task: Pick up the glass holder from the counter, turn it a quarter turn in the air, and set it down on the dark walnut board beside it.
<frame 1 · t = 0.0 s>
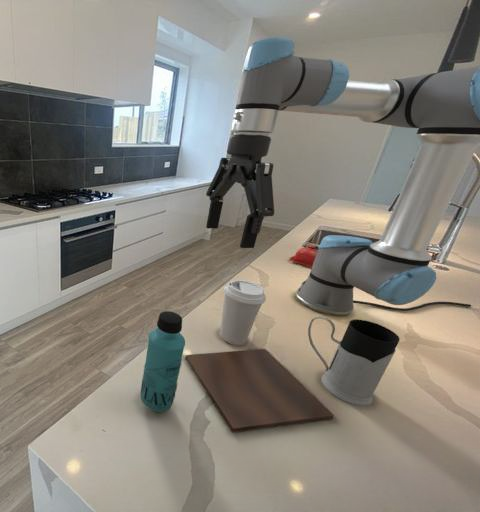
hand: (227, 237, 67), 28 cm above the counter, tool pointing down, fingers open, 13 cm apart
walnut board: (250, 385, 63), on the counter
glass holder: (330, 381, 66), on the counter
beverage bottle: (155, 404, 58), on the counter
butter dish: (305, 263, 131), on the counter
coffee cup: (232, 337, 79), on the counter
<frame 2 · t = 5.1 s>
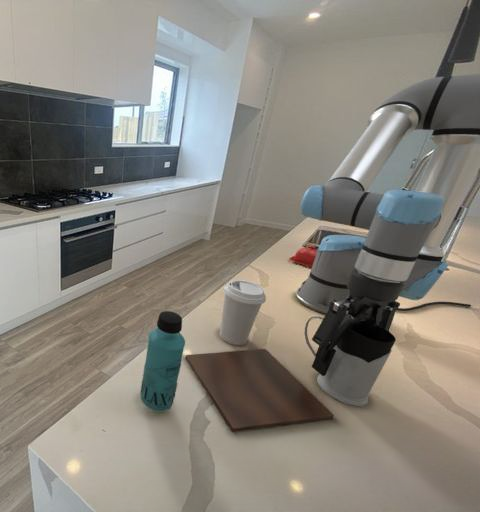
hand: (336, 369, 64), 3 cm above the counter, tool pointing down, fingers closed on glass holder, 8 cm apart
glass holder: (326, 381, 65), on the counter, touching gripper
everything else where it was.
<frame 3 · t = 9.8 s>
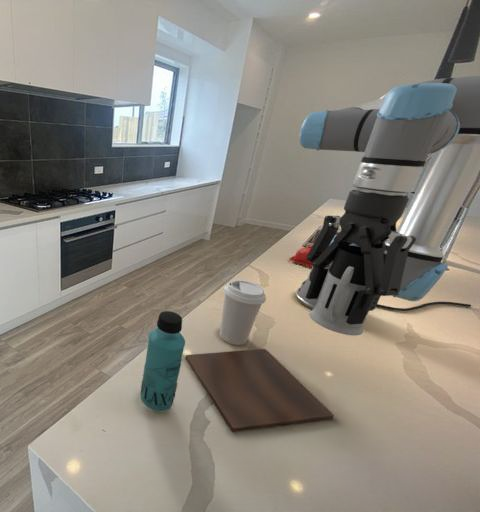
hand: (331, 309, 58), 19 cm above the counter, tool pointing down, fingers closed on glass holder, 8 cm apart
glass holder: (330, 327, 58), point 15 cm above the counter, touching gripper
everything else where it was.
when the fingers open (4 cm above the counter, at t = 14.5 s): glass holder stays where it is, resting on walnut board.
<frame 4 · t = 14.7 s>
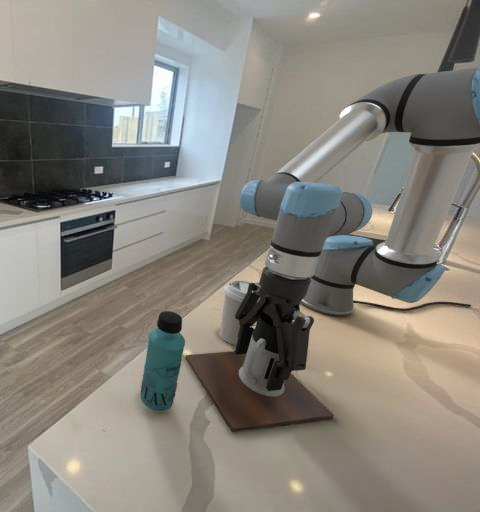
hand: (255, 369, 62), 4 cm above the counter, tool pointing down, fingers open, 9 cm apart
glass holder: (254, 386, 62), point 1 cm above the counter, touching walnut board
everything else where it was.
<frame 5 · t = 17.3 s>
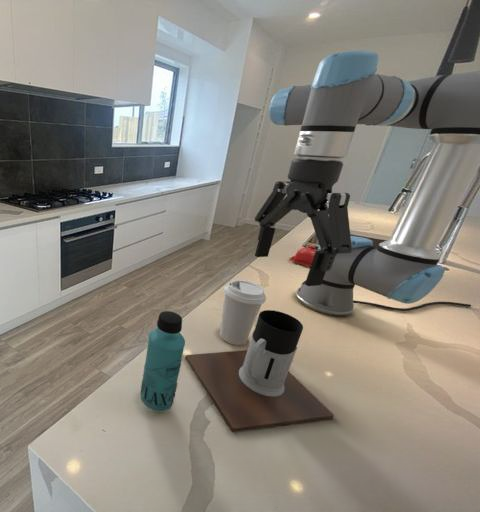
hand: (284, 269, 60), 24 cm above the counter, tool pointing down, fingers open, 13 cm apart
nothing on the counter moved.
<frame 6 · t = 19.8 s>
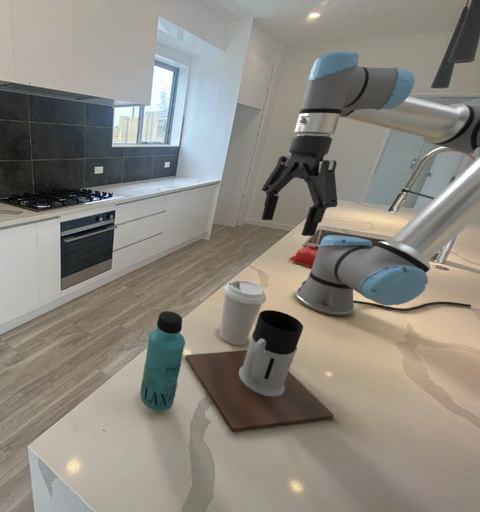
hand: (285, 227, 75), 29 cm above the counter, tool pointing down, fingers open, 13 cm apart
nothing on the counter moved.
at the end: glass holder inside the target area (1.1 cm from its centre), point 0.8 cm above the counter; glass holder tilted 0°; the gripper is holding nothing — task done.
